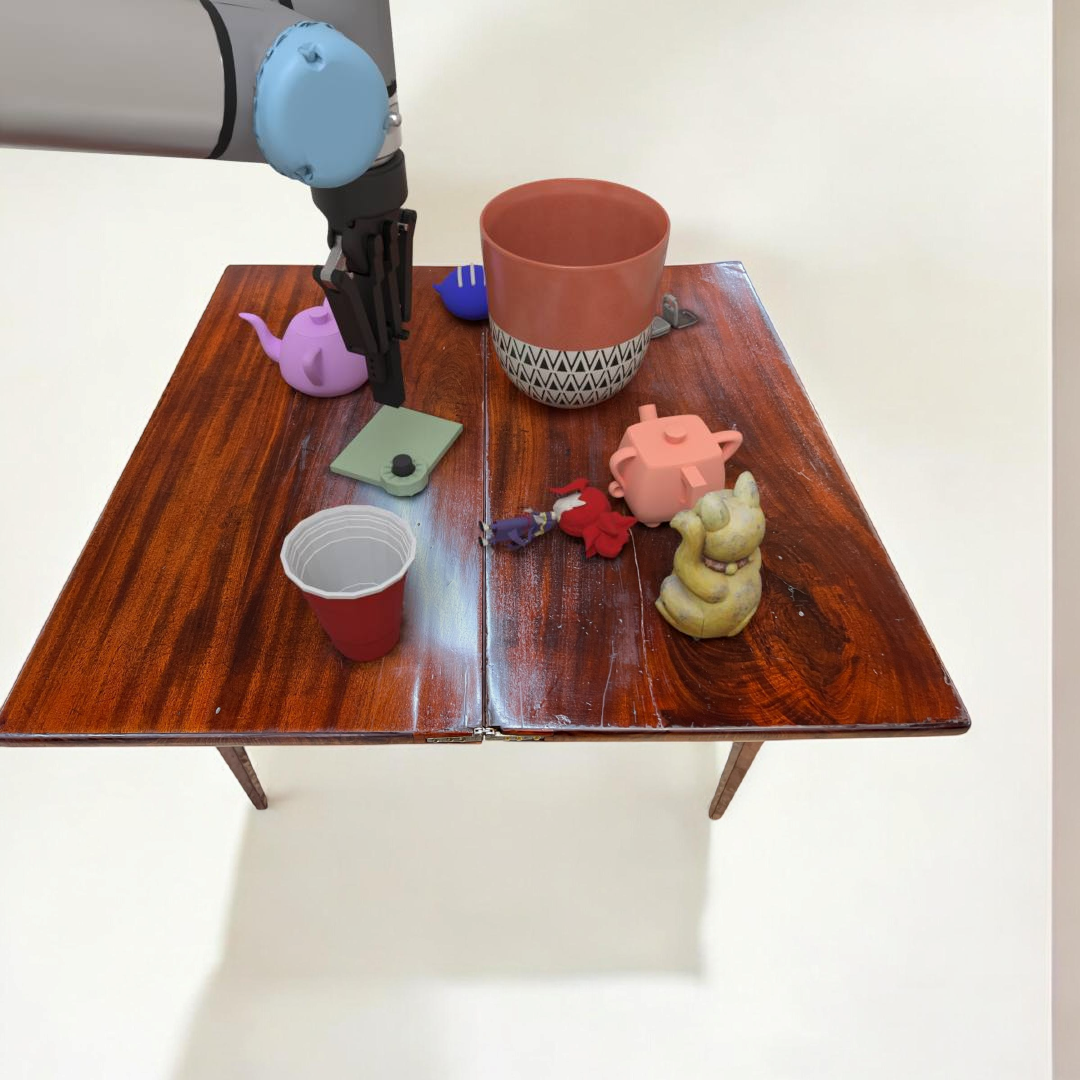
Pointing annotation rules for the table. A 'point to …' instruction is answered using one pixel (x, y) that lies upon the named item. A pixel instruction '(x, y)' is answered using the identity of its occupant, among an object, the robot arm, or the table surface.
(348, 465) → the scale
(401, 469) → the tare button
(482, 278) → the decorative object
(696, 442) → the teapot
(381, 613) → the plastic cup
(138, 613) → the table surface
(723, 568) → the decorative figurine
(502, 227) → the planter
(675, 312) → the strap clip
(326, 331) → the teapot
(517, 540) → the figurine
